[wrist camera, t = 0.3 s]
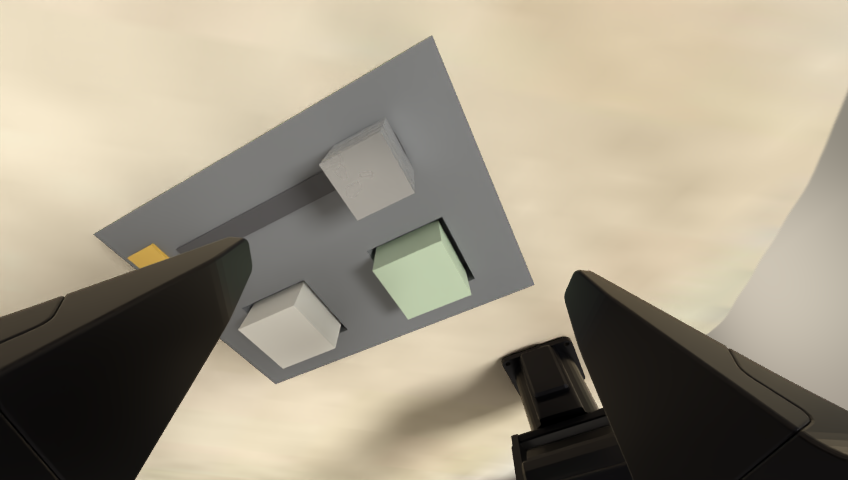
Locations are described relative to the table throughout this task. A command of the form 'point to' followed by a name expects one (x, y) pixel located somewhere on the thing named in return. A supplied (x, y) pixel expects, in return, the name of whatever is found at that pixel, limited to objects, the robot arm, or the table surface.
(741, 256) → the table surface
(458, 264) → the sage button
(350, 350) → the control panel
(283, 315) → the offwhite button
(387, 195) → the slider knob
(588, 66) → the table surface
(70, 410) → the robot arm
